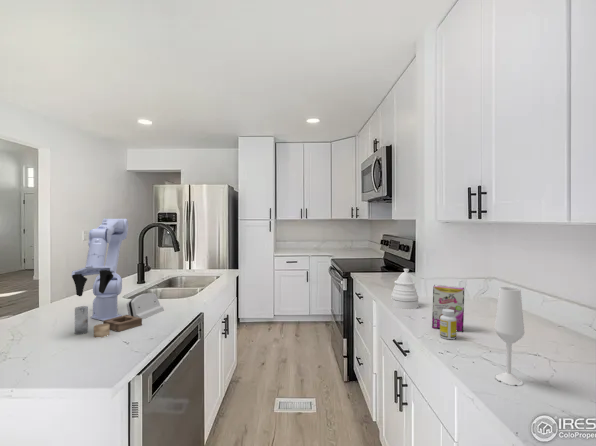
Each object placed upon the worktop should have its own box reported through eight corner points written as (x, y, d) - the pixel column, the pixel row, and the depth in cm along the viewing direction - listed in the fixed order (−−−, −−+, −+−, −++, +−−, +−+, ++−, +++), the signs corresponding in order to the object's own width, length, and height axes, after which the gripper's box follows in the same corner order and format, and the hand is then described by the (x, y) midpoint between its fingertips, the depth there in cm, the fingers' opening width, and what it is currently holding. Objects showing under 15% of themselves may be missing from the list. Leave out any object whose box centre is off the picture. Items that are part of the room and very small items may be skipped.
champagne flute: (490, 372, 94) (492, 285, 94) (518, 376, 92) (520, 287, 92) (497, 383, 87) (499, 290, 87) (527, 387, 85) (529, 292, 85)
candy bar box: (431, 328, 132) (432, 286, 132) (432, 324, 137) (433, 284, 137) (463, 332, 128) (464, 289, 128) (463, 329, 132) (464, 286, 132)
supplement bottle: (455, 336, 124) (455, 309, 124) (457, 340, 119) (457, 312, 119) (439, 334, 126) (439, 307, 126) (440, 339, 121) (440, 311, 120)
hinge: (139, 320, 138) (132, 297, 138) (130, 323, 139) (123, 300, 139) (164, 310, 154) (158, 289, 155) (155, 313, 155) (149, 292, 156)
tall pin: (72, 333, 122) (72, 308, 122) (83, 330, 125) (84, 305, 125) (78, 335, 120) (78, 309, 120) (90, 331, 123) (90, 307, 123)
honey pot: (396, 301, 177) (396, 266, 177) (421, 305, 169) (422, 269, 169) (387, 306, 166) (387, 269, 166) (413, 310, 159) (414, 272, 159)
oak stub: (90, 336, 119) (90, 326, 119) (104, 332, 123) (104, 322, 123) (99, 338, 117) (99, 328, 117) (112, 334, 121) (112, 324, 121)
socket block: (103, 327, 128) (103, 320, 128) (126, 321, 137) (126, 314, 137) (118, 331, 124) (118, 324, 124) (141, 324, 132) (141, 318, 132)
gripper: (69, 256, 121) (61, 293, 115) (110, 251, 122) (105, 287, 115) (81, 263, 127) (74, 299, 121) (120, 258, 128) (115, 293, 121)
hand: (90, 293), depth 118 cm, fingers open, 7 cm apart
